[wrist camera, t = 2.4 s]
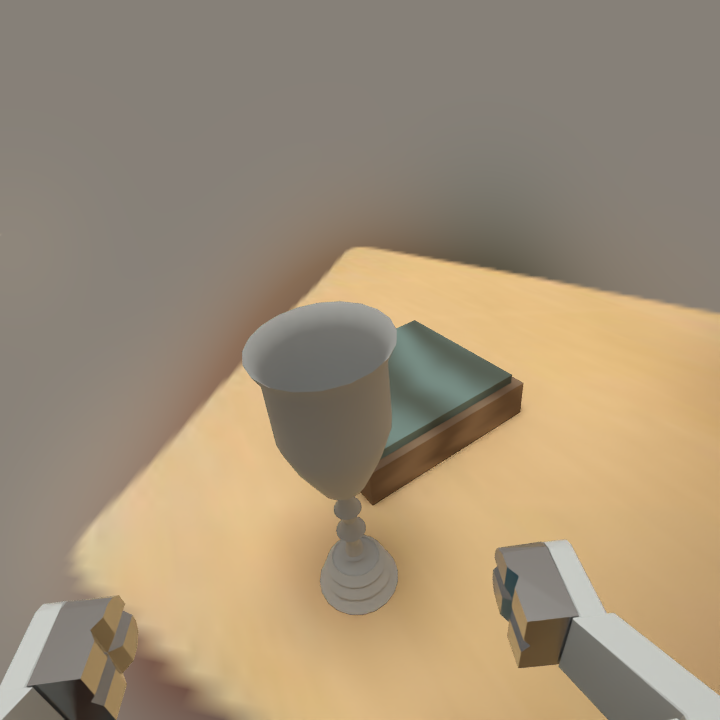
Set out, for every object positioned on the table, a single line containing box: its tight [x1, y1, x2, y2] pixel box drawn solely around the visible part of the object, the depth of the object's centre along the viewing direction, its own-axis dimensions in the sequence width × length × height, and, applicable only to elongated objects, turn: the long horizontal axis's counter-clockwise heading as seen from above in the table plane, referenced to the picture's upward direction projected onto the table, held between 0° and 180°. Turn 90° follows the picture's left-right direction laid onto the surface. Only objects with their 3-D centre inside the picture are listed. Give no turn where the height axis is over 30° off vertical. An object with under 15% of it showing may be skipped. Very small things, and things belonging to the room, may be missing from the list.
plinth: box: [361, 320, 523, 505], centre depth 43 cm, size 16×14×4 cm
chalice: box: [242, 301, 398, 615], centre depth 27 cm, size 7×7×18 cm
